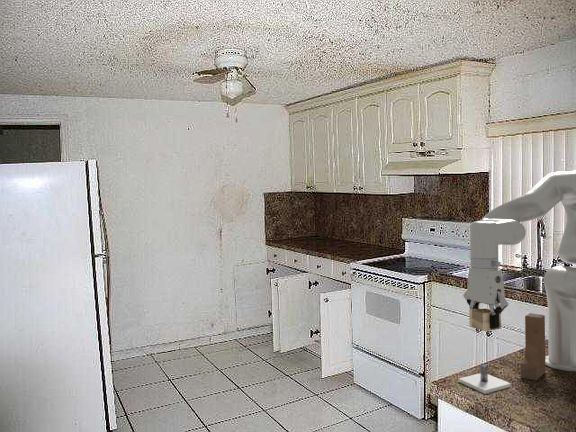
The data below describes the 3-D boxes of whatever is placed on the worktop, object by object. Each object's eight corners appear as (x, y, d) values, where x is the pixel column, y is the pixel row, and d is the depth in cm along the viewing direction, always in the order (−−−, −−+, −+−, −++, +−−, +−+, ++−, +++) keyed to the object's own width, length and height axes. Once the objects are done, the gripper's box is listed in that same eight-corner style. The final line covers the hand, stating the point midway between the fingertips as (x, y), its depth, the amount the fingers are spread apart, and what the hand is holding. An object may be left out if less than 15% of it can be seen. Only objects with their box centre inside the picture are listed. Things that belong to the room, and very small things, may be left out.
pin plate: (483, 375, 148) (483, 357, 148) (510, 386, 139) (510, 368, 139) (458, 381, 144) (458, 363, 144) (484, 393, 135) (484, 374, 135)
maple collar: (484, 323, 144) (484, 307, 144) (501, 328, 139) (500, 311, 139) (469, 326, 142) (469, 309, 141) (485, 331, 136) (485, 313, 136)
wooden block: (536, 381, 142) (535, 321, 141) (520, 377, 145) (519, 318, 145) (545, 372, 149) (545, 314, 148) (530, 369, 152) (529, 312, 151)
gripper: (519, 266, 133) (519, 330, 134) (471, 259, 149) (471, 317, 150) (499, 268, 130) (500, 334, 131) (452, 261, 146) (453, 320, 146)
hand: (485, 324), depth 140 cm, fingers closed on maple collar, 6 cm apart
